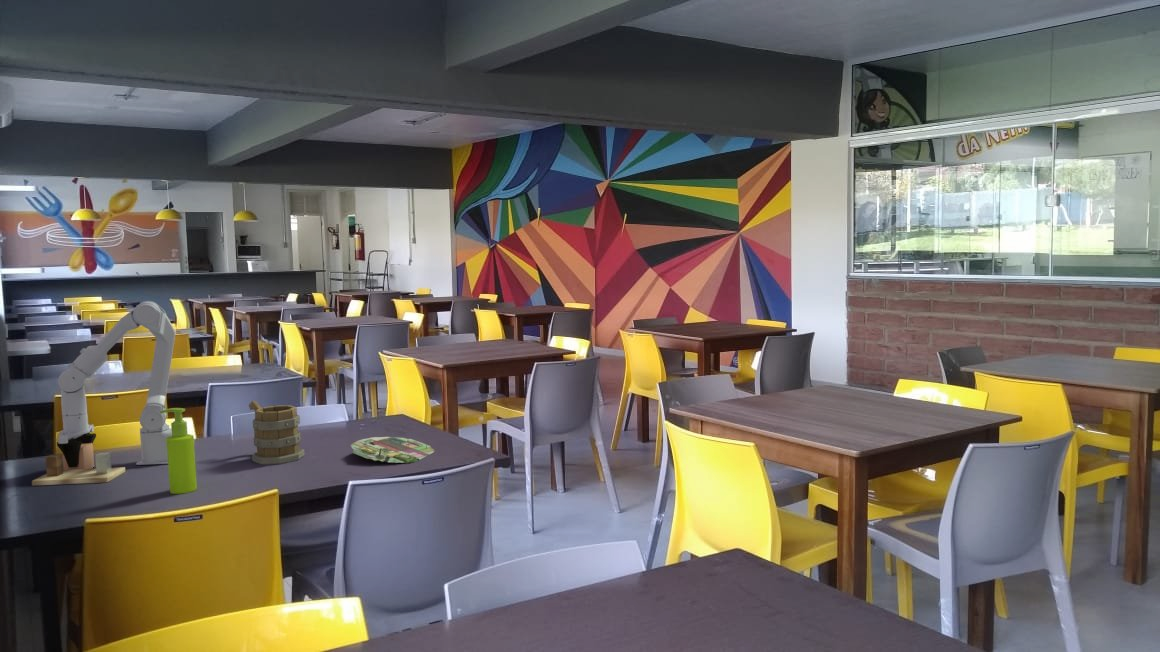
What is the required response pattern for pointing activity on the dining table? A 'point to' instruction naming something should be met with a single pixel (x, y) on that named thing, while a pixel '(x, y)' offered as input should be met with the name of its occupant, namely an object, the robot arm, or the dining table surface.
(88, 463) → the tan cardboard box
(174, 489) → the soap dispenser
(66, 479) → the birch board
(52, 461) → the walnut post
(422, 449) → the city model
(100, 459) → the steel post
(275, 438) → the tankard
